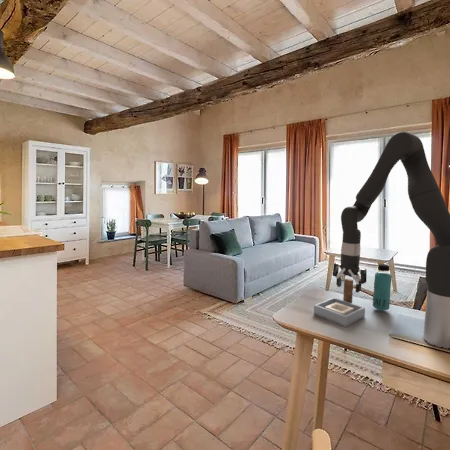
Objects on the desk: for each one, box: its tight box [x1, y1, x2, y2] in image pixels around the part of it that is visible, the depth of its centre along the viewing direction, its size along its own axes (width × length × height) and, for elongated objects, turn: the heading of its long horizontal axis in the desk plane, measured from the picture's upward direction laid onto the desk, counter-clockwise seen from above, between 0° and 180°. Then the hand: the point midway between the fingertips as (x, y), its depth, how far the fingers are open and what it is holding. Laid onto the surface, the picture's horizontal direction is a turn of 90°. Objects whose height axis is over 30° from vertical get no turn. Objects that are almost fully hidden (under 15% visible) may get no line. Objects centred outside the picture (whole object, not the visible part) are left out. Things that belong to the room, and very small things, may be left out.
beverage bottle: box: [372, 263, 393, 311], centre depth 123 cm, size 6×7×20 cm
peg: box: [342, 278, 354, 304], centre depth 128 cm, size 4×4×12 cm
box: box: [313, 297, 366, 328], centre depth 119 cm, size 14×14×4 cm
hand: (348, 289), depth 128 cm, fingers open, 8 cm apart
